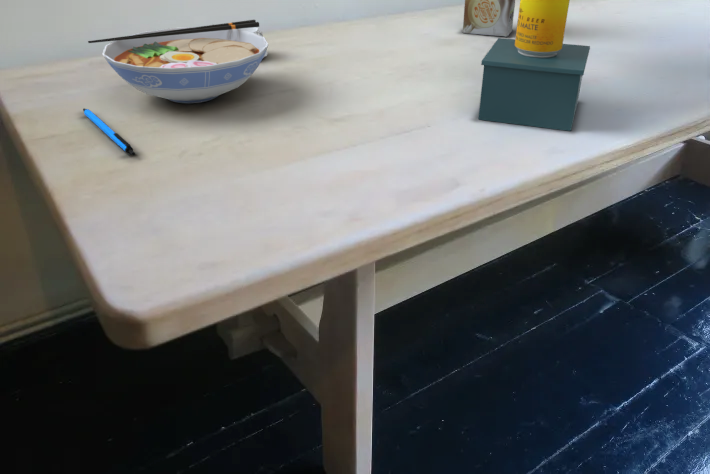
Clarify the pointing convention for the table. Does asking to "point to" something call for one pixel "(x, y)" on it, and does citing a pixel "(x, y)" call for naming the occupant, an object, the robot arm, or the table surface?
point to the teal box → (532, 86)
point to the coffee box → (488, 17)
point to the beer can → (541, 27)
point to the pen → (109, 132)
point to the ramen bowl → (187, 60)
